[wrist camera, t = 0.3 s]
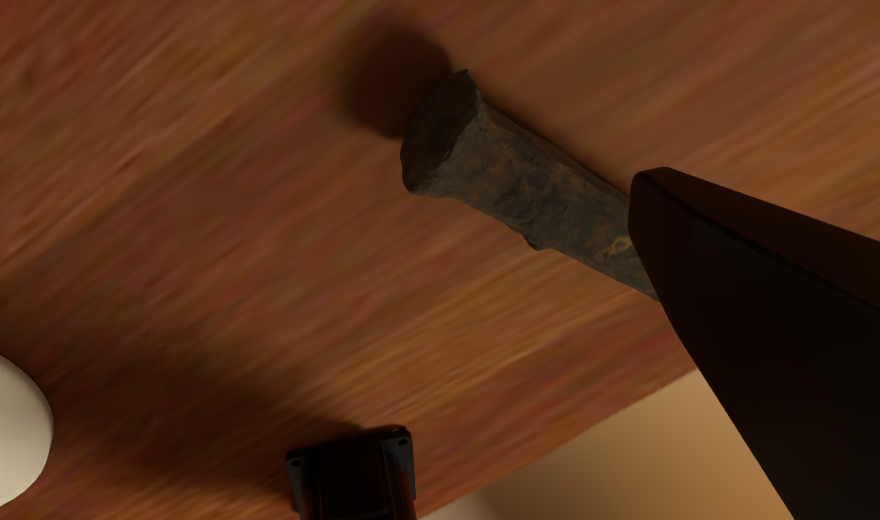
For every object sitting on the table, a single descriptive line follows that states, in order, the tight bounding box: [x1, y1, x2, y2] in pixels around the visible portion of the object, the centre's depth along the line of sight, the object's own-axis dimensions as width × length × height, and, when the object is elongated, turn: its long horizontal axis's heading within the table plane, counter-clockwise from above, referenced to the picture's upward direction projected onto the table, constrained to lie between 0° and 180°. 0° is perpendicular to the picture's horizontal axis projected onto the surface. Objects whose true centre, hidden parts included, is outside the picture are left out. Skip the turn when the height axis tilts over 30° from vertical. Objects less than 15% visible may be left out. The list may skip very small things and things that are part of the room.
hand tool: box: [400, 69, 661, 303], centre depth 26 cm, size 19×4×5 cm, turn 51°
